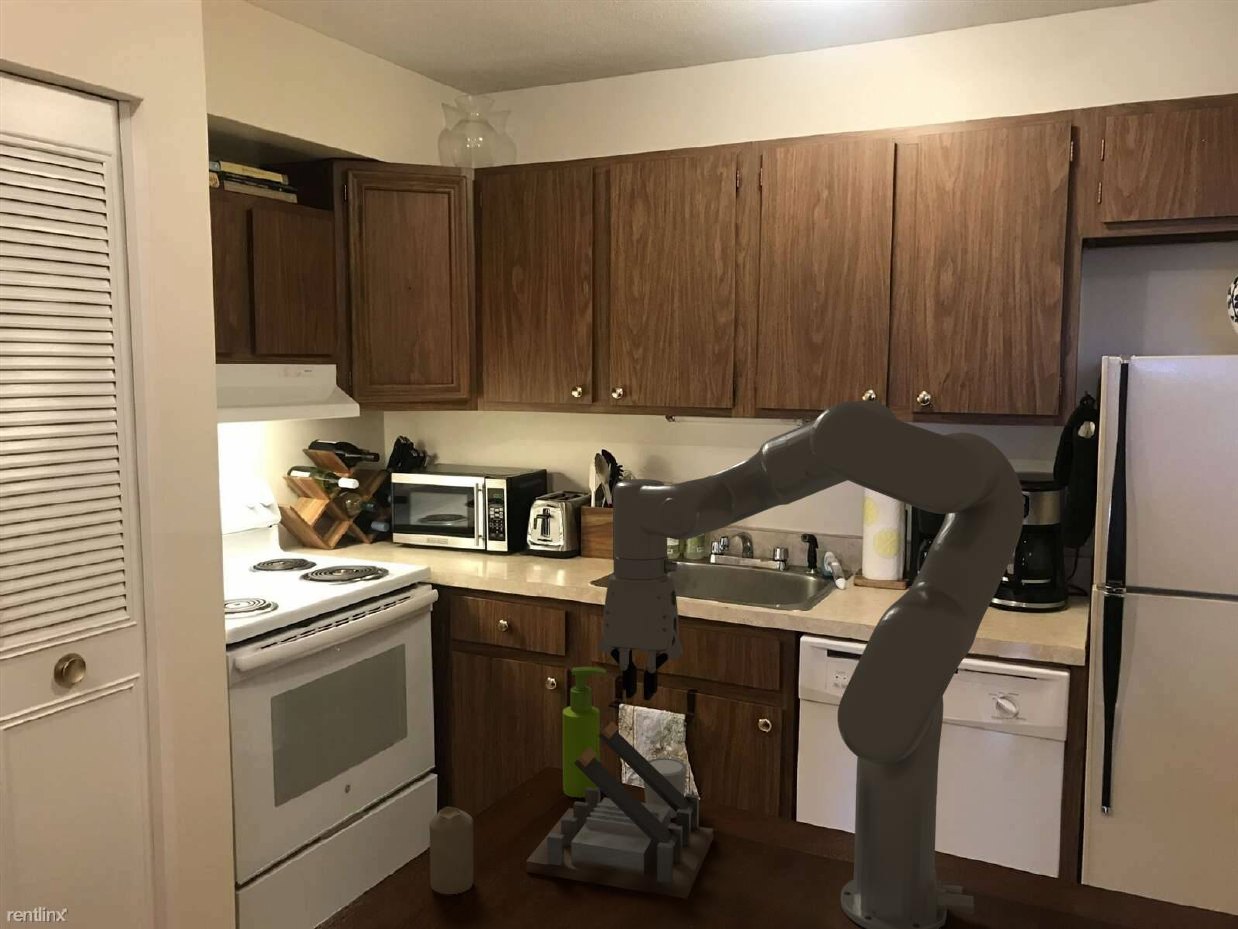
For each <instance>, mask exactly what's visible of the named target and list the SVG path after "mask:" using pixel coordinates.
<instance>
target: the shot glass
mask: <svg viewBox="0 0 1238 929" xmlns="http://www.w3.org/2000/svg"><path fill="white" fill-rule="evenodd" d="M647 761H648V762H649V763H650V764H651V765H652V766H653V767H654V768H655V769H656V770H657V771H658V772H659V773H661V774H662V775H663V776H664V777H665V778H666V779H667V780H668V781H669V782H670V783H671V784H672V785H673V786H674V787H675V788H676V789H677V790H678V791H679V792H680V793H681V794H682V795H683V796H684V797H685V791H686V782H687V781H686V780H687V771H688V769H687V768H688V767H687V764H685V762H684V761H681V760H679V759H676V758H670V757H658V758H651V759H649V760H647ZM643 787H644V801H645V802H644V803H647V804H655V805H662V806H669V805H668V804H667V803H666V802H665V801H664V800H663V799H662V798H661V797H660V796H659V795H658V794H657V793H656V792H655V791H654V790H653V789H652V788H651V787H650V786H649V785H648V784H647V783H646V782H645V781H644V780H643ZM669 807H670V806H669ZM673 818H676V812H675V811H674V810H673V809H672V808H671V818H670V819H673Z"/></svg>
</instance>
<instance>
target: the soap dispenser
mask: <svg viewBox="0 0 1238 929" xmlns="http://www.w3.org/2000/svg"><path fill="white" fill-rule="evenodd" d="M606 674H607V669H605V668H602V667H601V668H600V667H597V666H578V667H572V670H571V675H572V676H575V686H572V687H571V688H570V691H569V692H570V693H569V695H570V696H569V698H570V701H569V702H570V706H567V707H565V708H563V710H562V792H563V791H564V792H563V793H564V795H566V796H568V797H571V798H574V797H576V799H582V798H581V797H585V789H586V788H587V787H593V788H598V787H597V786H596V785H595V784H594V783H593V782H592V781H591V780H590V779H589V778H588V777H587V776H586V775H585V774H584V773H583V772H582V771H581V770H580V769H579V768H578V767H577V766H576V765H575V764H574V763H575V762H576V761H577V760H578V758H579V757H580V756H581V755H582V754H583V753H584V752H585V751H586V749H587V748H588V747H590V748H591V749H592V750H593V751H594V752H595V753H596V755H595V758H596V759H597V760H598V761H599V762H600V763H601V758H600V755H601V753H600V752H601V751H600V739H601V738H600V737H599V735H600V734H601V733H600V730H601V729H600V728H601V727H600V726H601V725H600V722H601V721H600V716H601V714H600V709H599V708H598V707H596V706H594V705H593V704H592V703H593V702H592V700H593V698H592V697H593V696H592V695H593V694H592V693H593V692H592V687H589V686H588V685H587V675H598V676H603V677H604V676H605V675H606ZM577 797H578V798H577Z"/></svg>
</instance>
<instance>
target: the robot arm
mask: <svg viewBox="0 0 1238 929" xmlns="http://www.w3.org/2000/svg"><path fill="white" fill-rule="evenodd" d="M848 481H849V482H851V483H853V484H855V485H858V486H861V487H863V488H865V489H869V490H870V491H873V492H875V493H879V494H881V495H883V496H886V497H889V498H891V499H893V500H897V501H899V502H902V503H903V504H907V505H908V506H911V507H914V508H917V509H919V510H923V511H926V512H929V513H934V514H940V515H945V516H944V520H943V522H942V524H941V527H940V529H939V531H938V532H937V534H936V536H935V538H934V539H933V541H932V544H931V546H930V547H929V551H928V553H927V555H926V557H925V560H924V562H923V563H922V566H921V567H920V569H919V571H918V574H917V576H916V577H915V579H914V581H913V583H912V584H911V586H910V587H909V589H908V590H907V591H906V592H905V593H904V594H903V595H902V596H901V597H900V598H898V599H897V600H896V601H895V602H894V603H892V604H891V605H890V606H889V607H888V608H887V609H886V610H885V612H884V613H883V615H882V616H881V617H880V618H879V621H878V622H877V624H876V626H875V627H874V629H873V631H872V633H871V636H870V637H869V639H868V641H867V644H866V645H865V647H864V649H863V652H862V654H861V656H860V658H859V660H858V662H857V664H856V667H855V668H854V671H853V672H852V674H851V677H850V679H849V681H848V683H847V685H846V687H845V690H844V692H843V694H842V696H841V699H840V701H839V704H838V709H837V718H836V719H837V726H838V731H839V734H840V736H841V739H842V740H843V742H844V745H846V747H847V748H848V749H849V750H850V752H852V754H854V755H855V756H856V757H857V760H856V780H855V781H856V782H855V810H854V811H855V818H854V824H855V826H854V858H853V859H854V861H853V864H854V865H853V879H851V880H850V881H849V882H847V883H846V884H845V885H844V886H843V887H842V889H841V892H840V904H841V908H842V910H843V911H844V914H846V915H847V917H848V918H850V919H851V920H852V921H853V922H854V923H856V925H857V924H858V925H859V926H860V927H862V928H864V929H939V928H940V927H942V926H943V927H944V925H945V924H946V922H945V921H947V910H950V911H957V912H960V913H967V914H972V915H973V914H974V912H975V910H974V909H975V899H974V898H975V897H974V896H972V895H965V894H963V887H962V886H959V885H947V884H943V882H942V881H938V879H937V878H938V875H937V869H935V863H936V861H935V860H936V859H935V858H936V835H937V834H936V830H937V800H938V798H937V797H938V796H937V795H938V778H939V777H938V776H939V759H940V758H939V756H940V746H941V737H942V736H941V735H942V728H943V720H944V695H945V692H946V691H947V688H948V686H949V685H950V683H951V682H952V679H953V677H954V676H955V673H956V672H957V670H958V668H959V666H960V665H961V663H962V661H963V660H964V659H965V658H966V656H967V655H968V653H969V652H970V650H971V648H972V646H973V645H974V642H975V639H976V636H977V633H978V631H979V628H980V625H981V623H982V621H983V619H984V617H985V614H986V613H987V611H988V608H989V606H990V604H991V603H992V601H993V600H994V599H993V598H994V597H995V595H996V593H997V591H998V588H999V585H1000V583H1001V581H1002V579H1003V577H1004V575H1005V572H1006V571H1007V568H1008V567H1009V564H1010V562H1011V561H1012V558H1013V556H1014V553H1015V551H1016V549H1017V546H1018V543H1019V540H1020V537H1021V533H1022V529H1023V525H1024V517H1025V502H1024V495H1023V489H1022V485H1021V481H1020V479H1019V477H1018V475H1017V472H1016V471H1015V468H1014V467H1013V466H1012V464H1011V462H1010V461H1009V459H1008V458H1007V457H1006V456H1005V454H1004V453H1003V451H1001V450H1000V449H999V447H998V446H996V445H995V444H994V443H992V442H991V441H990V440H988V439H987V438H984V437H982V436H981V435H978V434H975V433H971V432H955V433H949V434H944V435H943V434H941V433H938V432H935V431H931V430H928V429H925V428H923V427H920V426H916V425H914V424H911V423H908V422H905V421H902V420H900V419H898V418H897V416H896V414H895V413H894V412H893V411H892V410H891V409H890V408H889V407H888V406H886V405H885V404H883V403H880V402H878V401H874V400H866V399H863V400H862V399H861V400H854V401H853V400H851V401H843V402H839V403H836V404H833V405H831V406H829V407H828V408H826V409H824V411H823V412H821V413H820V414H819V416H818V417H817V418H816V419H814V420H812V421H810V422H808V423H804V424H802V425H801V426H798V427H797V428H794V429H791V430H789V431H787V432H783V433H782V434H780V435H777V436H774V437H772V438H770V439H767V440H766V441H765V442H763V443H762V444H761V446H760V448H759V450H758V451H757V452H756V453H754V455H752V456H750V457H749V458H747V459H745V460H744V461H741V462H739V463H737V464H735V465H731V466H730V467H727V468H725V469H722V470H721V471H718V472H716V473H715V472H714V473H713V474H710V475H708V476H704V477H702V478H695V479H691V480H687V481H683V482H677V483H672V484H665V483H664V482H662V481H660V480H657V479H656V480H655V479H650V478H647V479H646V478H633V479H632V478H631V479H623V480H621V481H619V482H617V483H616V485H614V488H613V498H612V499H613V515H612V516H613V523H612V524H613V530H612V531H613V574H611V575H610V576H609V578H608V582H607V587H606V593H605V598H604V599H605V600H604V608H603V619H602V620H603V622H602V635H601V637H600V640H599V642H598V644H597V648H598V650H599V651H601V652H603V653H605V654H606V655H608V656H609V655H610V657H612V659H613V660H615V662H616V663H617V664H618V665H619V668H620V670H621V671H622V690H623V691H625V699H631V698H632V697H634V696H635V694H637V692H638V686H637V685H638V683H637V682H638V680H637V679H638V674H637V673H638V669H637V668H638V666H637V665H636V664H635V662H634V650H635V651H646V652H647V653H646V654H647V657H646V661H647V662H646V663H647V664H646V665H647V666H646V668H645V669H646V670H645V672H643V700H644V701H650V700H651V698H652V697H654V696H655V694H656V693H657V692H658V688H659V687H658V685H659V684H658V679H659V678H658V673H659V671H658V669H660V668H661V666H663V665H664V664H665V663H666V662H668V661H672V660H674V659H677V658H680V657H681V656H682V655H683V654H684V649H683V646H682V644H681V641H680V639H679V633H680V630H679V629H680V628H679V626H680V625H679V612H678V601H677V600H678V598H677V592H676V586H675V581H674V577H673V576H669V573H671V572H677V570H678V562H677V561H672V560H670V557H669V554H668V539H672V540H677V541H684V540H689V539H693V538H696V537H699V536H701V535H702V536H703V535H704V534H708V533H711V532H714V531H715V532H716V531H717V530H721V529H723V528H725V527H728V526H730V525H733V524H735V523H738V522H740V521H743V520H745V519H748V518H749V517H753V516H755V515H758V514H761V513H762V512H764V511H768V510H770V509H772V508H776V507H779V506H785V505H790V504H792V503H794V502H796V501H799V500H802V499H804V498H807V497H809V496H811V495H812V496H813V495H814V494H817V493H820V492H822V491H824V490H827V489H829V488H831V487H834V486H836V485H839V484H842V483H844V482H848ZM943 927H942V928H943ZM940 929H941V928H940Z"/></svg>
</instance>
